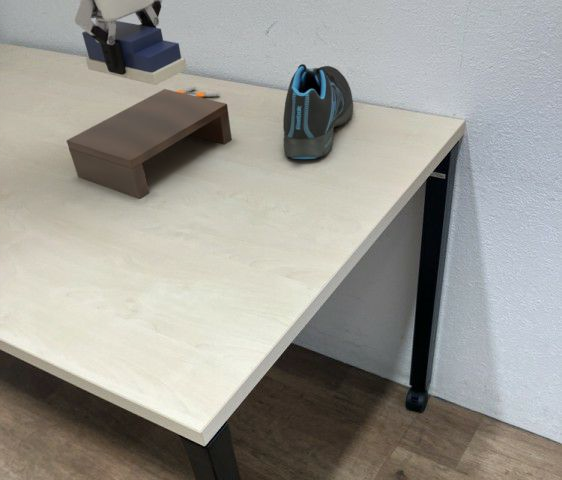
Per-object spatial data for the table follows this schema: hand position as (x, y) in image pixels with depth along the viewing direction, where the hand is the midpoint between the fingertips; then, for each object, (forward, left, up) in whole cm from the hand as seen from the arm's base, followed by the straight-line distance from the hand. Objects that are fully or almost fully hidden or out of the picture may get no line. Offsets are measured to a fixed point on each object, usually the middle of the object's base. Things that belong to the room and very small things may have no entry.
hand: (135, 62), depth 88 cm
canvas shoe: (0, 0, -1) cm, 1 cm away
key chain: (-13, +21, -15) cm, 29 cm away
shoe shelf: (-1, +1, -15) cm, 15 cm away
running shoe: (+17, +23, -15) cm, 32 cm away
